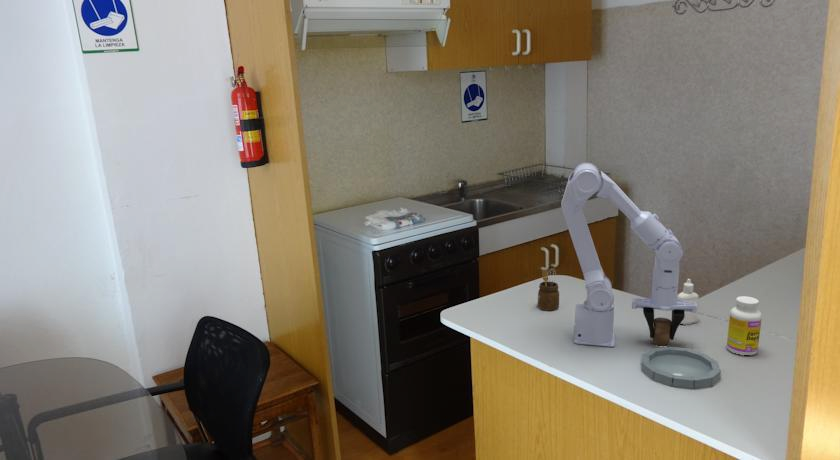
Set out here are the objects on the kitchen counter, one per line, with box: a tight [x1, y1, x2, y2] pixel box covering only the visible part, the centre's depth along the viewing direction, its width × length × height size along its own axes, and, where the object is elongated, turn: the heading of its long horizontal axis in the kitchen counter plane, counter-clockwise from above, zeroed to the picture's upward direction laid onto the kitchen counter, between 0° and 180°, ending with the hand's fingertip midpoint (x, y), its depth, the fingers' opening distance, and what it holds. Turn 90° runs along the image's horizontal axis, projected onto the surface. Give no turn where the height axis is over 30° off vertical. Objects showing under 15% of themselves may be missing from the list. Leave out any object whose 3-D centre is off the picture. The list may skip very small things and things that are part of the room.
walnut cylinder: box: [652, 317, 672, 347], centre depth 156 cm, size 4×4×6 cm
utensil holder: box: [537, 269, 560, 312], centre depth 180 cm, size 6×6×12 cm
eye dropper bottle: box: [677, 278, 700, 326], centre depth 167 cm, size 4×6×12 cm
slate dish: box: [640, 346, 722, 390], centre depth 143 cm, size 16×16×2 cm
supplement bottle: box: [726, 295, 763, 356], centre depth 150 cm, size 7×7×13 cm
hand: (661, 337), depth 156 cm, fingers closed on walnut cylinder, 4 cm apart
